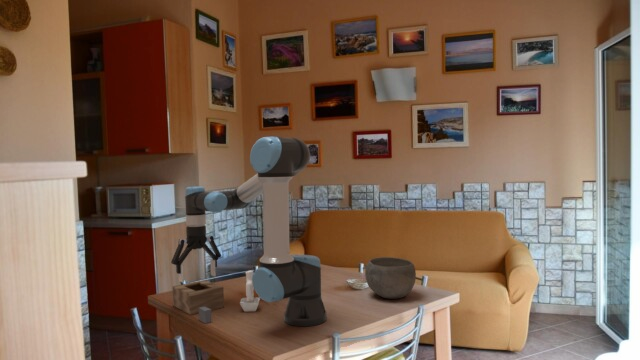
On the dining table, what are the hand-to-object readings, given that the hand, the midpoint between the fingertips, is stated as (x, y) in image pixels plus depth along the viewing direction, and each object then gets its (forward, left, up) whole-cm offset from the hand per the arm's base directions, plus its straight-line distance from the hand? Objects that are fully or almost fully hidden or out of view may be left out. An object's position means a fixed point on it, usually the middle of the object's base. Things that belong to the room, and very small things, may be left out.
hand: (197, 278), depth 181 cm
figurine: (-18, -13, -11) cm, 25 cm away
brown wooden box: (0, 0, -11) cm, 11 cm away
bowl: (-44, -65, -11) cm, 79 cm away
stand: (-18, +6, -11) cm, 22 cm away
